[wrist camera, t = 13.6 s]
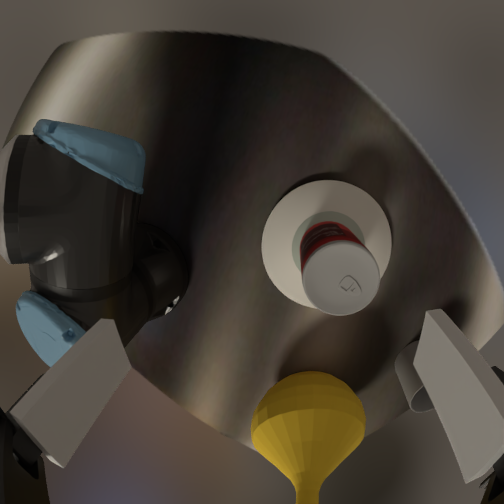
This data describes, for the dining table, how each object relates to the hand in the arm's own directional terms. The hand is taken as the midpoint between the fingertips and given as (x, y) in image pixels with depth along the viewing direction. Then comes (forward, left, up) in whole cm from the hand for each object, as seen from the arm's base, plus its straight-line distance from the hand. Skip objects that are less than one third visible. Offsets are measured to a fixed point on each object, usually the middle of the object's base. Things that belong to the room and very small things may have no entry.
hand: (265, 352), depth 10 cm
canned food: (+6, -4, -27) cm, 28 cm away
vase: (+3, -31, -28) cm, 42 cm away
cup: (+23, -26, -28) cm, 45 cm away
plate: (+6, -4, -28) cm, 29 cm away
